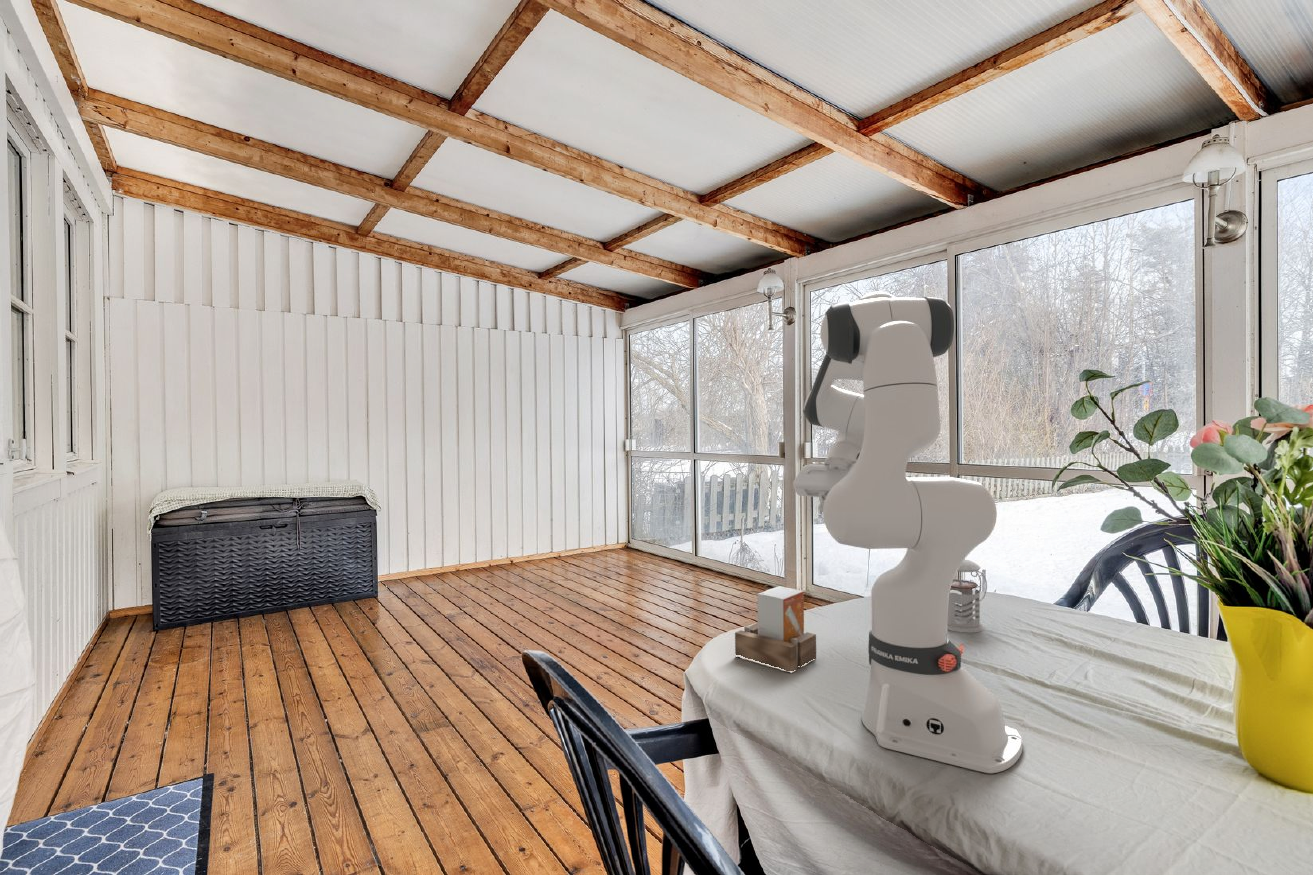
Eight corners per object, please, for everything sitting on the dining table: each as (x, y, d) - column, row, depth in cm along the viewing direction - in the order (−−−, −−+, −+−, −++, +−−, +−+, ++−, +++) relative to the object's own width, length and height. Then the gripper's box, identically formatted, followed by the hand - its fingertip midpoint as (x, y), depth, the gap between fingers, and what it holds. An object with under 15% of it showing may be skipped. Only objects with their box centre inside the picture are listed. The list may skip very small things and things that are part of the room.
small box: (784, 664, 126) (783, 599, 125) (757, 656, 130) (756, 593, 129) (805, 652, 131) (804, 590, 131) (778, 645, 136) (778, 585, 135)
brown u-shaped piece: (816, 658, 128) (815, 631, 128) (791, 673, 121) (790, 644, 121) (761, 644, 137) (761, 618, 137) (735, 656, 130) (734, 629, 130)
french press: (927, 621, 150) (927, 515, 149) (967, 615, 153) (967, 511, 152) (959, 634, 140) (958, 521, 139) (1001, 628, 144) (1001, 518, 143)
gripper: (800, 453, 156) (779, 498, 149) (882, 456, 142) (863, 505, 135) (810, 470, 159) (789, 514, 152) (890, 474, 145) (872, 523, 138)
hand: (824, 510), depth 143 cm, fingers closed
